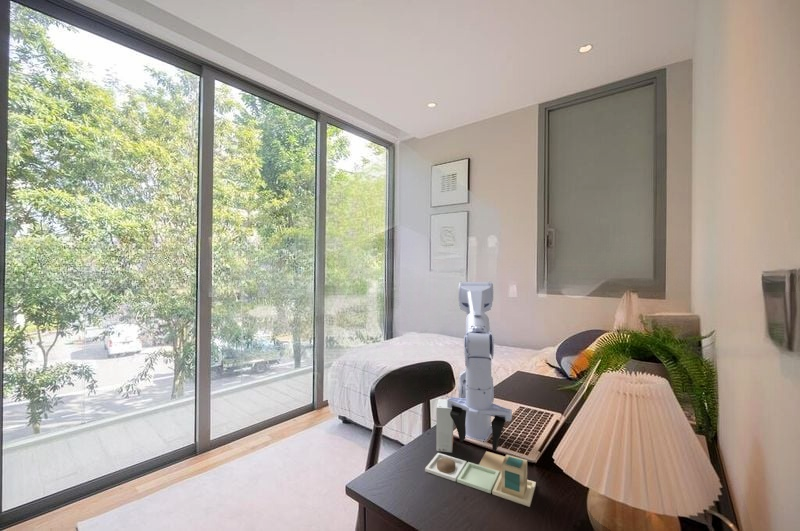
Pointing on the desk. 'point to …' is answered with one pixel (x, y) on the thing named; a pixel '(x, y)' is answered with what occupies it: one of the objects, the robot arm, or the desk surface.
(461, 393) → the robot arm
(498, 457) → the cork pad
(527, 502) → the tray sand
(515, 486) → the beige block teal panels
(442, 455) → the tray white
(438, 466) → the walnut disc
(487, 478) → the tray sage
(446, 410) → the skincare box
